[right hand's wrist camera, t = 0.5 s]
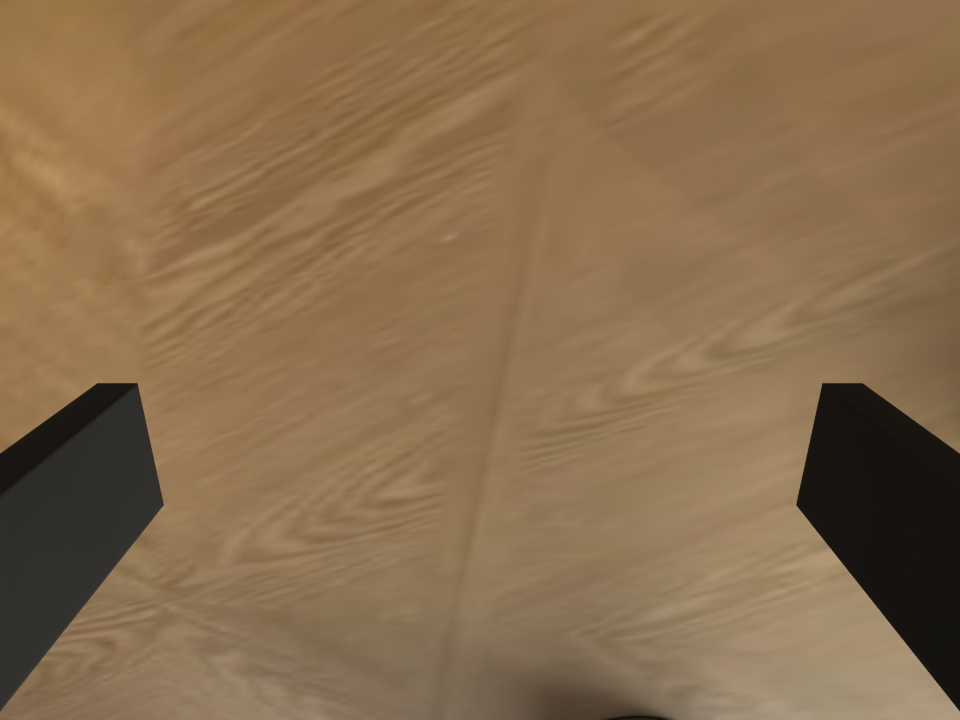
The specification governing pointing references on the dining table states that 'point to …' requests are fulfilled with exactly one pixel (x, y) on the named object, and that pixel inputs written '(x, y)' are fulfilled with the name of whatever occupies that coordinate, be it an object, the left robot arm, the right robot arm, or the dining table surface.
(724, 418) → the dining table surface
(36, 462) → the right robot arm
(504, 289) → the dining table surface
